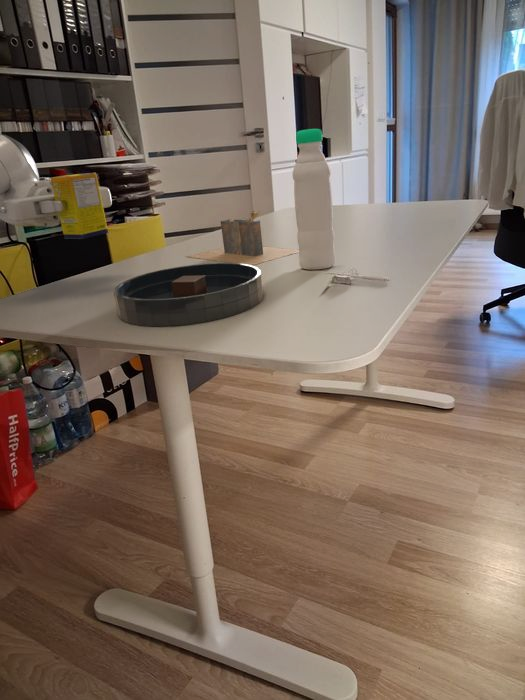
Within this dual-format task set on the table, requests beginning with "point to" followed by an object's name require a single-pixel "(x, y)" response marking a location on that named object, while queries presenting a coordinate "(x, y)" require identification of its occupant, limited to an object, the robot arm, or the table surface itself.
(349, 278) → the picture light
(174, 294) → the block
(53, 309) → the table surface
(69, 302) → the table surface
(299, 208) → the water bottle
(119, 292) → the bowl
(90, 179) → the supplement box
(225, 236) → the architectural model on board
